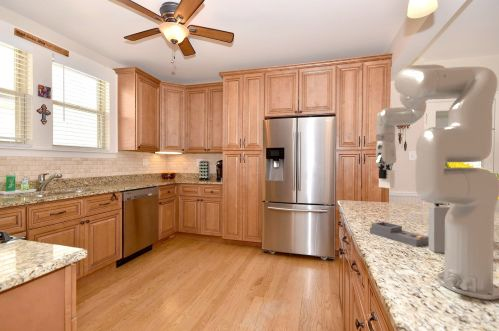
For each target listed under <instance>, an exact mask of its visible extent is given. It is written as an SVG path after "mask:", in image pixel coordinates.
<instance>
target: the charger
mask: <svg viewBox="0 0 499 331" xmlns="http://www.w3.org/2000/svg"><path fill="white" fill-rule="evenodd" d="M395 172H396V170H394V169H392V170H387V174H386V179H381V178H379V177H378V188H385V189H393V188H395V177H396V176H395V175H396V174H395Z"/></svg>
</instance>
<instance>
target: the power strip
mask: <svg viewBox="0 0 499 331" xmlns="http://www.w3.org/2000/svg"><path fill="white" fill-rule="evenodd" d="M369 234H372V235H375V236H379V237H382V238H386V239H387V240H392V241H395V242H399V243H402V244H406V245H409V246H413V247H415V248H417V247H420V246H424V245H427V244H429V235H428V236H427V235H423V234H419V233H415V232H412V231H406V230H403V226H402V225H399V224H396V223H390V222H386V221H378V222H373V223H371V227H370V228H369Z"/></svg>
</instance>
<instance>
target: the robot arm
mask: <svg viewBox="0 0 499 331" xmlns="http://www.w3.org/2000/svg"><path fill="white" fill-rule="evenodd" d="M497 88H498V78H497V74H496V73H495V72H494V71H493V70H492V69H491V68H488V67H484V66H454V67H452V66H451V67H445V66H443V65H441V64H433V63H432V64H413V65H408V66H407V65H406V66H404V67H403V68H402V69H400V70H399V71H398V72H397V74H396V76H395V79H394V89H395V90H396V92H397V93H399V101H400V103H401V104H402V105H403V106H404V107H402V106H401V107H385V108H383V109H381V111H380V112H378V113H377V114H376V124H375V125H376V126H375V127H376V130H375V131H376V133H375V134H376V135H375V136H376V138H375V139H376V140H375V142H376V146H375V163H376V165H377V168H378V179H379V178H381V179H386V174H387V170H393V166H394V164H395V163H396V162H397V148H396V126H410V125H413V124H415V123H416V122H418V121H419V120H421V119H422V118H423V117H424V115H425V113H426V110H427V101H428V100H429V101H430V100H451V99H452V100H453V99H455V100H454V102H453V103H452V104H451V105H450V107H449V110H448V115H447V126H434V127H433V126H432V127H429V128H426V129H425V130H423V131H422V132H421V133H420V134H419V136H418V138H417V141H416V145H415V176H414V177H415V190H416V194H417V195H418V197H419V198H420V200H422V201H423V202H426V203H429V204H436V203H439V205H441V204H445V205H447V204H451V206H450V209H449V210H448V212H447V214H446V217H445V253H444V269H443V270H444V271H443V272H438V274H437V277H436V279H437V280H436V281H438V283H440V284H441V286H443V287H444V288H447V289H448V290H451V291H453V292H455V293H457V294H461V295H464V296H468V297H471V298H475V299H479V300H490V301H491V300H499V286H497V285H496V284H495V283H494V254H495V253H494V251H495V250H494V246H495V245H494V244H495V243H494V242H495V241H494V240H495V239H494V237H495V236H494V234H495V233H494V232H495V213H496V207H497V203H498V200H499V177H498V176H497V175H496V174H495V173H493V172H492V171H490V170H488V169H485V168H479V167H470V166H469V167H467V166H466V167H462V166H461V167H457V166H456V167H446V163H475V162H481V161H484V160H486V159H487V158H488V157H489V156H490V154H491V152H492V149H493V148H492V146H493V145H492V144H493V107H494V106H493V105H494V101H495V96H496V93H497Z"/></svg>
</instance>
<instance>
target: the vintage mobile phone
mask: <svg viewBox="0 0 499 331" xmlns="http://www.w3.org/2000/svg"><path fill="white" fill-rule="evenodd" d="M450 207H451V206H450ZM450 207H449V206H447V205H440V204H439V203H435V205H431V204H430V205H428V237H429V243H428V250H429V251H431V252H433V253H437V254H445V217H446V214H447V212H448V210H449V209H450Z"/></svg>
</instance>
